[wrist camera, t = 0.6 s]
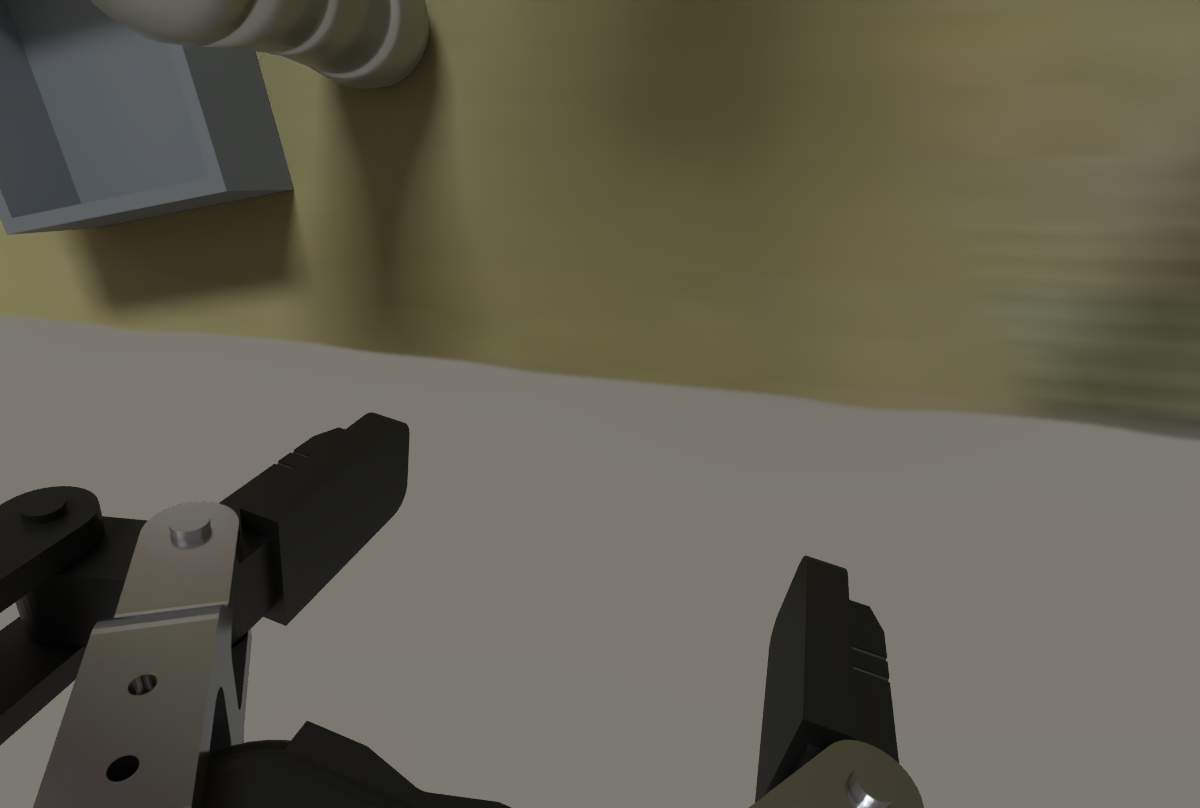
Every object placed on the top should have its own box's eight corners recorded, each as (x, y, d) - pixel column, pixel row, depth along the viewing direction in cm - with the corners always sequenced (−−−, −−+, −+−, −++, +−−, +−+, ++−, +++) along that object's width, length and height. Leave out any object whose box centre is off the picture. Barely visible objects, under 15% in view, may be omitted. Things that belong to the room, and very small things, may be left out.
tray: (-3, -36, 39) (-116, -68, 34) (211, -105, 35) (121, -154, 30) (94, 228, 43) (7, 234, 38) (293, 189, 39) (226, 191, 34)
